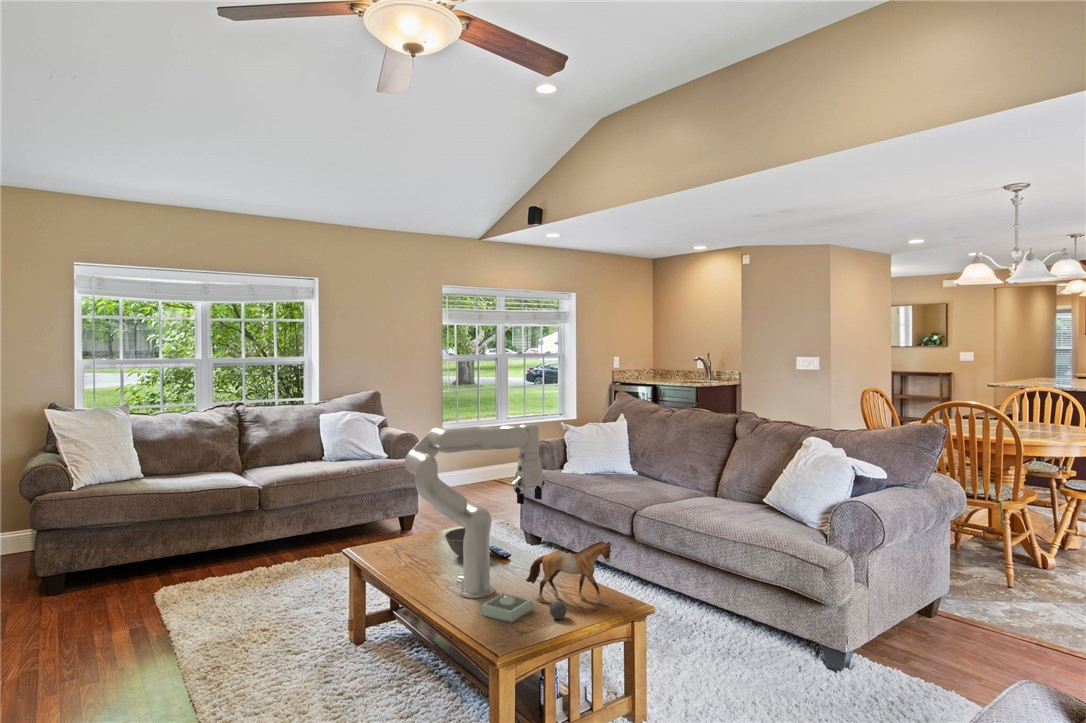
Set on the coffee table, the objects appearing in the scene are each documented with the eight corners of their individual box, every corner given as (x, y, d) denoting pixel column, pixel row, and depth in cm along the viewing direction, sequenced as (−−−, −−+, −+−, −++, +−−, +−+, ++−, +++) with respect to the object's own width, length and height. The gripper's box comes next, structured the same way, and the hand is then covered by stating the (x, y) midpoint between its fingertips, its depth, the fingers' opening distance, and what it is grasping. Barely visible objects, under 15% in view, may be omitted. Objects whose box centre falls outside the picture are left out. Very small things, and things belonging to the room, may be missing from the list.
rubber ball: (546, 619, 211) (546, 602, 211) (555, 613, 216) (555, 597, 216) (561, 623, 208) (560, 606, 208) (569, 617, 213) (569, 600, 213)
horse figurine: (613, 598, 228) (612, 540, 228) (612, 607, 221) (611, 547, 220) (526, 594, 233) (525, 537, 233) (522, 602, 226) (521, 544, 225)
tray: (481, 615, 215) (481, 604, 215) (503, 602, 225) (503, 592, 225) (511, 623, 209) (511, 612, 209) (531, 610, 219) (531, 599, 219)
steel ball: (495, 611, 216) (496, 595, 216) (505, 606, 221) (505, 590, 221) (508, 615, 213) (509, 599, 213) (518, 610, 218) (519, 594, 218)
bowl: (440, 554, 279) (439, 531, 279) (481, 547, 287) (481, 525, 287) (452, 567, 262) (452, 542, 262) (496, 560, 270) (496, 536, 270)
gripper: (520, 460, 237) (520, 507, 237) (551, 454, 250) (552, 498, 250) (505, 458, 242) (506, 504, 242) (537, 452, 255) (537, 495, 255)
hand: (529, 501), depth 246 cm, fingers open, 9 cm apart
